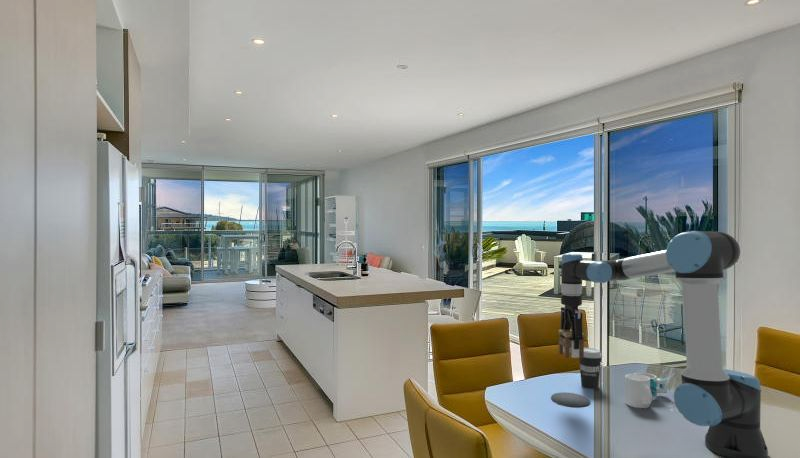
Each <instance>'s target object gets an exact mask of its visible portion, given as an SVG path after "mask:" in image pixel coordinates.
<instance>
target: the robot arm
mask: <svg viewBox="0 0 800 458" xmlns="http://www.w3.org/2000/svg"><path fill="white" fill-rule="evenodd" d="M740 255H741V247H740V244H739V243H738V240H736V239H735V238H734V237H733V236H732V235H730V234H728V233H726V232H723V231H715V230H714V231H706V230H705V231H702V230H701V231H700V230H691V231H683V232H681V233H678V234H677V235H675V236H674V237H673V238H672V239H671V240H670V241H669V242H668V244H667V246H666V249H664V250H659V251H655V252H654V251H653V252H650V253H644V254H639V255H634V256H629V257H625V258H621V259H613V260H611V259H610V260H607V259H606V260H586V259H583V254H580V253H564V254H562V256H561V263H560V267H561V270H560V272H561V273H560V275H561V277H560V279H561V281H560V293H561V295H560V304H561V305H563V306H564V307H563V306H561V307H560V313H561V314H560V329H559V330H572V337H573V339H571V348H569V353H571V355H570V356H571V357H570V358H572V359H576V358H578V359H579V340H583V334H582V333H583V315H584V314H583V312H579V306H582V304H583V296H582V294H583V287H584V286H583V281H585V282H591V283H596V284H597V283H599V284H605V283H607V282H610V281H611V282H612V281H627V280H630V279H635V278H641V277H648V276H656V275H659V274H660V275H661V274H668V273H673V272H674V273H675V279H676V280H677V281H678V282H679V283H680V284H681V288H682V303H683V304H682V305H683V306H682V307H683V308H682V309H683V320H684V321H683V322H684V339H685V341H684V342H685V354H686V367H685V368H684V369H683V370H682V371H681V373H680V377H681V383H680V384H678V386H677V387H676V388H675V390H674V392H673V401H674V404H675V407H676V409H677V411H678V412H679V413H680V414H681V415H682V416H683V418H684V419H686V421H688V422H690V423H691V424H694V425H696V426H699V427H708V426H709V427H708V429H707V432H706V434H705V436H704V444H705V447H706V448H707V449H708V450H710V451H711V452H713V453H715V454H716V455H719V456H722V457H724V458H769V449H768V446H767V445H766V441H765V438H764V436H763V433H762V430H761V398H762V397H761V393H762V389H761V381H760V379H759V378H758V377H756V376H755V375H752V374H749V373H745V372H741V371H738V370H731V369H727V368H724V367H723V353H722V352H723V351H722V350H723V349H722V336H721V321H720V320H721V319H720V306H719V289H718V288H719V287H718V285H719V284H720V283H721V281H722V280H723V279H724V270H728V269H730V268H732V267H733V266H734V265H735V264H736V263H737V262H738V260H739V259H740ZM563 353H565V347H564V346H563Z"/></svg>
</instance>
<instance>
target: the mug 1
mask: <svg viewBox="0 0 800 458" xmlns="http://www.w3.org/2000/svg"><path fill="white" fill-rule="evenodd" d="M624 378H625V379H624V399H625V404H626V405H627V406H629V407H632V408H634V409H642V408H643V409H648V408H650V405H651V404H652V401H653V400H652V393H651V390H650V378H649V377H647V376H644V375H640V374H634V373H627V374H625V376H624Z"/></svg>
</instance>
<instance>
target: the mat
mask: <svg viewBox="0 0 800 458" xmlns="http://www.w3.org/2000/svg"><path fill="white" fill-rule="evenodd" d="M550 399H551V400H552V402H553V403H555V404H558V405H561V406H565V407H572V408H582V407H583V408H584V407H588V406H589V405H590V404H591V399H589V398H588V397H587V396H585V395H583V394H578V393H575V392H556V393H553V394H551V395H550Z"/></svg>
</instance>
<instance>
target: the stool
mask: <svg viewBox="0 0 800 458" xmlns="http://www.w3.org/2000/svg"><path fill="white" fill-rule="evenodd" d="M557 331H558V355H563V354H564V359H570V352H569V348H571V339H573V337H572V330H571V329H570V330H560V329H558V330H557ZM582 334H583V340H579V358H584V348H585V345H584V342H585V339H584V338H585V333H583V332H582ZM563 346H564V347H565V352H563ZM579 358H578V359H579Z"/></svg>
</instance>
